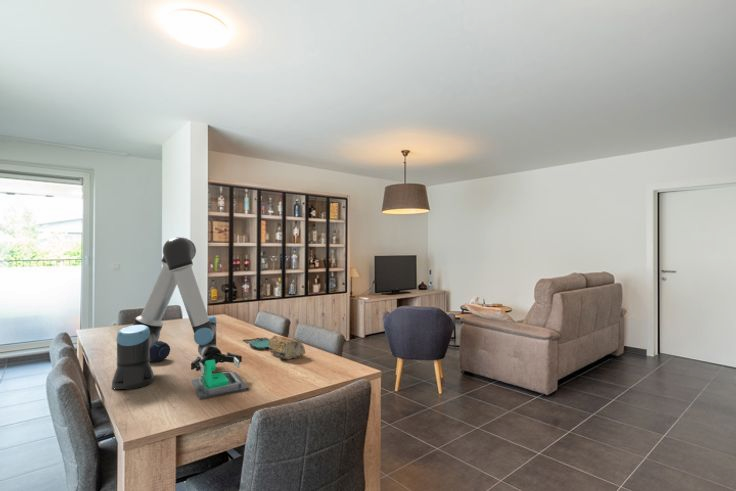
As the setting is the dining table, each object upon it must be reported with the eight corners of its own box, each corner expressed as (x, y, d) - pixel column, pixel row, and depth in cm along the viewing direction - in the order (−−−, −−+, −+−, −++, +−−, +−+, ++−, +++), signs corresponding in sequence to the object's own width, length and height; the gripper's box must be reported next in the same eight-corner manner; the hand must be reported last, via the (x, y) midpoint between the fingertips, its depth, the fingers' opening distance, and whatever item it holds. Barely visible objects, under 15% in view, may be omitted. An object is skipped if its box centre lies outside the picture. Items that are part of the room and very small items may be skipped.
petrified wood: (264, 353, 201) (268, 334, 202) (286, 354, 209) (289, 336, 211) (282, 360, 186) (286, 340, 188) (304, 361, 194) (308, 341, 196)
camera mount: (229, 387, 151) (229, 361, 151) (208, 391, 147) (208, 364, 147) (222, 378, 161) (222, 354, 161) (202, 381, 157) (202, 357, 157)
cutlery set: (257, 352, 204) (257, 348, 204) (239, 342, 228) (239, 338, 228) (290, 347, 216) (290, 343, 216) (270, 338, 240) (270, 334, 240)
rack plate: (199, 399, 141) (199, 393, 141) (191, 381, 160) (191, 376, 160) (248, 389, 151) (248, 383, 151) (235, 374, 169) (235, 368, 169)
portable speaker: (117, 360, 191) (117, 340, 191) (134, 354, 200) (134, 336, 200) (156, 364, 183) (156, 344, 183) (172, 358, 193) (172, 339, 193)
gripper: (239, 358, 177) (252, 371, 159) (180, 367, 164) (187, 382, 146) (239, 342, 177) (252, 353, 159) (181, 350, 164) (187, 363, 146)
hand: (221, 367), depth 152 cm, fingers open, 13 cm apart
